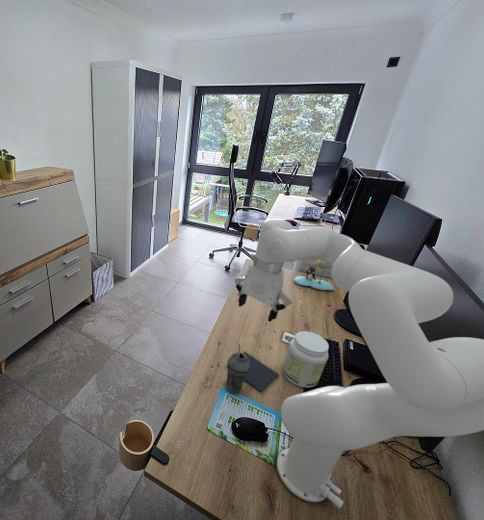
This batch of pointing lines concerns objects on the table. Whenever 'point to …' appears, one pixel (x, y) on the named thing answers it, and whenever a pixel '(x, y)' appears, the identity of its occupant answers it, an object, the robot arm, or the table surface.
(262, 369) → the mat
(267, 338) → the table surface
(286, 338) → the vintage car picture box
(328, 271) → the penguin figurine
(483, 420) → the robot arm
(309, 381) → the supplement tub
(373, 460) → the table surface
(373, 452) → the table surface
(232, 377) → the beverage cup
